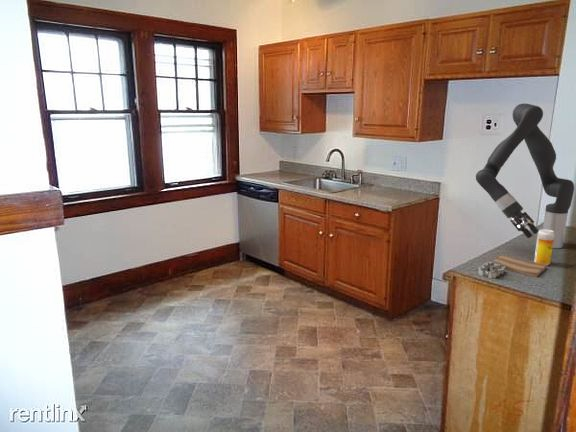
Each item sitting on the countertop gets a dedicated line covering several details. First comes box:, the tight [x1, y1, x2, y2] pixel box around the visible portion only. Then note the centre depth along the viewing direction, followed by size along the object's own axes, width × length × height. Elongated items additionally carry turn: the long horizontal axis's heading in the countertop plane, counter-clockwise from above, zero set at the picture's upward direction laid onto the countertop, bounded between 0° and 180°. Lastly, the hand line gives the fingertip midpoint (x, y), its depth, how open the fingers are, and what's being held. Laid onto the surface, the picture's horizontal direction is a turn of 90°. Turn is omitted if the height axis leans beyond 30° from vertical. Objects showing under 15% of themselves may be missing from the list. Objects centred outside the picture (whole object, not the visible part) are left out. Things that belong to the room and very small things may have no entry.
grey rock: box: [477, 260, 505, 279], centre depth 169 cm, size 11×8×4 cm
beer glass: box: [533, 228, 554, 266], centre depth 177 cm, size 6×6×15 cm
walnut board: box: [491, 255, 548, 278], centre depth 175 cm, size 13×18×2 cm
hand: (533, 234), depth 179 cm, fingers open, 8 cm apart
